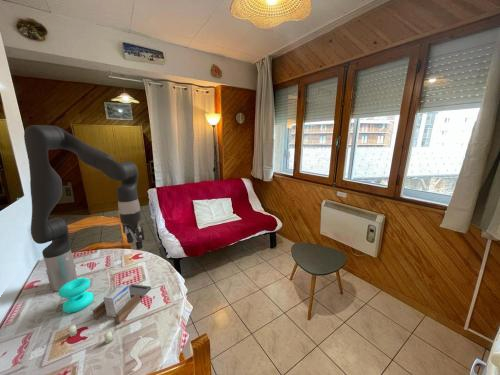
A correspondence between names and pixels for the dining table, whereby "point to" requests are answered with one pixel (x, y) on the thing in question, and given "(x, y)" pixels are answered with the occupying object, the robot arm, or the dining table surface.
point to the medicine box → (117, 299)
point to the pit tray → (138, 290)
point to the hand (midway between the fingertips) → (135, 245)
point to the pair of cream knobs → (107, 335)
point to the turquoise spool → (76, 295)
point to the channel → (122, 312)
